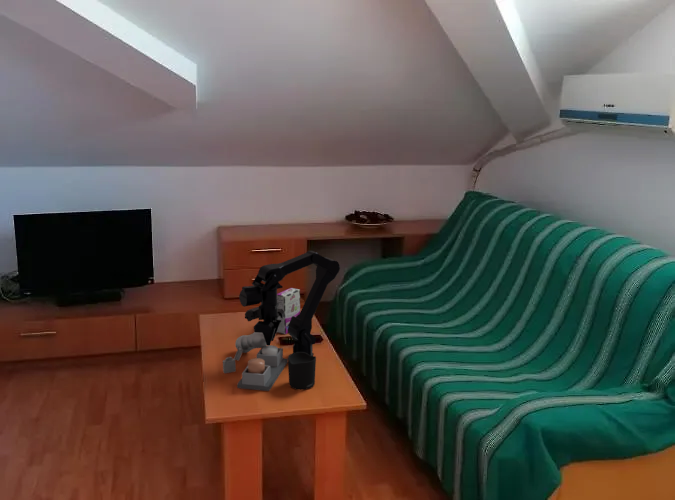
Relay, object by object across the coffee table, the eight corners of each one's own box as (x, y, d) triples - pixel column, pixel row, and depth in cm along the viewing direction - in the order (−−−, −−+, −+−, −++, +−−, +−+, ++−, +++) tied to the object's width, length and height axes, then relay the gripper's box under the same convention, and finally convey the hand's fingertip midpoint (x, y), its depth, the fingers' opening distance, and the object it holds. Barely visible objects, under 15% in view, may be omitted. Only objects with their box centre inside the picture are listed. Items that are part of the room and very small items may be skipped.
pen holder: (288, 391, 225) (288, 363, 223) (287, 379, 234) (287, 352, 232) (316, 390, 226) (317, 362, 224) (314, 378, 235) (314, 351, 233)
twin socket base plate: (287, 362, 248) (287, 348, 247) (269, 391, 225) (268, 375, 224) (258, 360, 250) (258, 346, 249) (237, 388, 227) (236, 372, 226)
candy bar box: (291, 324, 287) (290, 287, 283) (300, 326, 285) (300, 289, 281) (275, 332, 278) (274, 294, 274) (285, 334, 275) (284, 296, 271)
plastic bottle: (244, 357, 257) (271, 349, 242) (230, 347, 254) (257, 339, 239) (251, 342, 260) (279, 334, 245) (237, 333, 258) (264, 324, 242)
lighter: (224, 373, 238) (223, 352, 237) (223, 371, 240) (222, 350, 238) (243, 369, 242) (243, 348, 240) (242, 368, 243) (241, 347, 241)
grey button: (279, 356, 247) (279, 346, 246) (275, 362, 242) (275, 351, 241) (264, 355, 248) (264, 344, 247) (260, 361, 243) (259, 350, 242)
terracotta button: (266, 370, 231) (266, 359, 230) (262, 376, 226) (261, 365, 225) (251, 368, 232) (250, 357, 231) (245, 375, 227) (245, 364, 226)
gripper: (255, 292, 250) (256, 332, 253) (238, 308, 232) (240, 351, 236) (284, 294, 248) (285, 334, 251) (270, 310, 230) (271, 353, 234)
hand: (270, 343), depth 243 cm, fingers open, 4 cm apart
